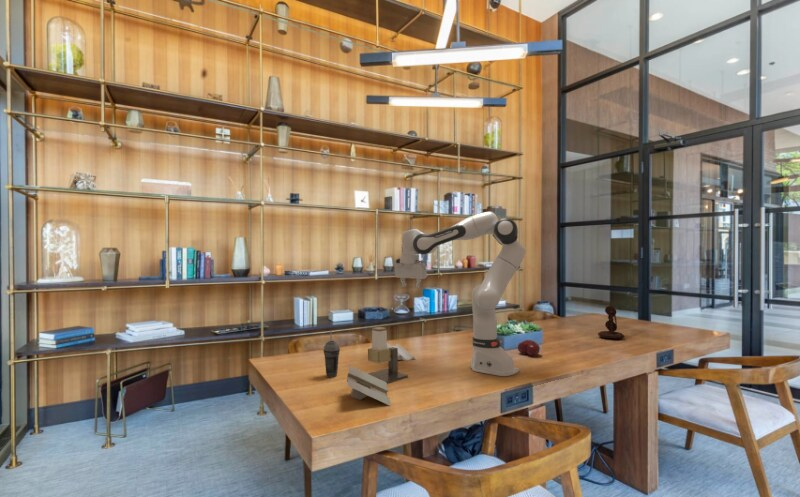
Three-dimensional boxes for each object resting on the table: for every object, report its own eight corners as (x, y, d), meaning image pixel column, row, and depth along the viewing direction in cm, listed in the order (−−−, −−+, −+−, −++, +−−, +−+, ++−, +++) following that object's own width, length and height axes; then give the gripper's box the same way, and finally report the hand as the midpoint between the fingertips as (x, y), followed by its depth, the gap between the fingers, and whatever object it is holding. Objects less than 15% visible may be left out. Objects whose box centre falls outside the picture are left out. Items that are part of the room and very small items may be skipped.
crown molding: (415, 361, 205) (415, 353, 205) (392, 362, 201) (392, 355, 201) (399, 347, 235) (399, 341, 235) (379, 348, 231) (379, 342, 231)
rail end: (387, 358, 173) (386, 328, 173) (378, 360, 170) (378, 329, 170) (380, 356, 176) (379, 326, 176) (372, 358, 173) (371, 328, 173)
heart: (528, 349, 221) (515, 354, 216) (527, 336, 220) (514, 340, 215) (546, 354, 211) (533, 360, 206) (545, 340, 210) (532, 345, 205)
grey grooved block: (371, 399, 161) (339, 374, 158) (387, 381, 161) (355, 356, 158) (372, 426, 143) (336, 398, 140) (391, 406, 142) (355, 377, 139)
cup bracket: (407, 377, 175) (407, 347, 175) (380, 385, 164) (380, 354, 164) (386, 370, 185) (386, 342, 185) (359, 378, 174) (359, 348, 174)
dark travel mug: (326, 379, 172) (326, 333, 173) (321, 375, 179) (321, 330, 179) (342, 377, 176) (342, 331, 176) (336, 372, 182) (336, 329, 183)
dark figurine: (626, 341, 244) (625, 308, 244) (599, 339, 249) (599, 307, 250) (622, 336, 258) (621, 305, 258) (596, 335, 263) (596, 304, 263)
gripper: (429, 260, 200) (429, 287, 200) (401, 260, 215) (401, 285, 215) (420, 260, 196) (421, 288, 195) (392, 260, 211) (392, 286, 210)
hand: (410, 287), depth 205 cm, fingers open, 8 cm apart
